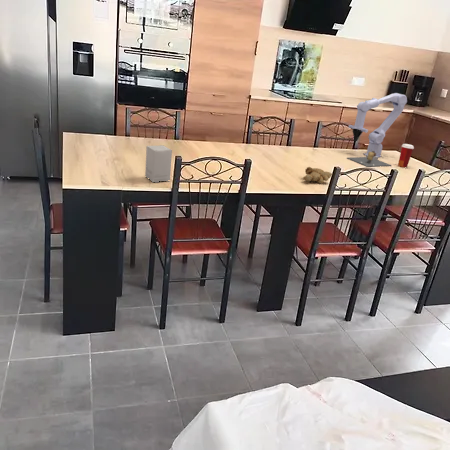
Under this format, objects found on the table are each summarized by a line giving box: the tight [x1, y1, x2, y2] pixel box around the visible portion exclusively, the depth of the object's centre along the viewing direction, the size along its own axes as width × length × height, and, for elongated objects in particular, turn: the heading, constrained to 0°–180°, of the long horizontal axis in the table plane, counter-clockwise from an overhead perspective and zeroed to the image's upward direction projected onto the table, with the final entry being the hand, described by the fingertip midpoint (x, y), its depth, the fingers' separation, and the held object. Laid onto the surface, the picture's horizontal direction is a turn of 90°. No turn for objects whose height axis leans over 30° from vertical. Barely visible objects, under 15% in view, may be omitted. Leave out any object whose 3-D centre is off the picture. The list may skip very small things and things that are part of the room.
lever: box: [367, 151, 376, 160], centre depth 290 cm, size 18×4×4 cm, turn 156°
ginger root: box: [302, 166, 333, 184], centre depth 235 cm, size 16×16×8 cm
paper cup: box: [397, 143, 415, 168], centre depth 288 cm, size 8×8×14 cm
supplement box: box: [144, 145, 173, 183], centre depth 205 cm, size 9×9×15 cm
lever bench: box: [346, 155, 392, 168], centre depth 289 cm, size 21×19×3 cm
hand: (355, 140), depth 302 cm, fingers closed
